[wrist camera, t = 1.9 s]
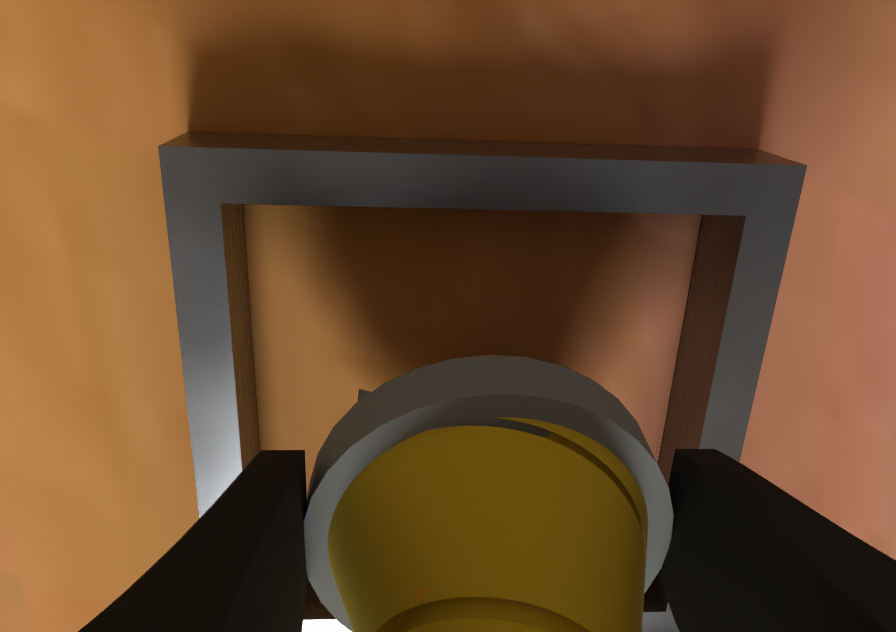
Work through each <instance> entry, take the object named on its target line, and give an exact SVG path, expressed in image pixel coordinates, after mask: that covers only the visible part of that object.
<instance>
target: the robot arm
mask: <svg viewBox="0 0 896 632" xmlns="http://www.w3.org/2000/svg"><path fill="white" fill-rule="evenodd" d="M668 487H669V491H670V497H671V503H672V509H673V515H674V516H673V526H672V536H671V541H670V545H669V548H668V551H667V554H666V557H665V559H664V562H663V565H662V567H661V569H660V571H659V575H660V578H661V582H662V585H663V588H664V591H665V594H666V597H667V600H668V603H669V606H670V609H671V612H672V615H673V617H674V620H675V623H676V625H677V627H678V630H679V632H896V560H894V559H892V558H891V557H889V556H887V555H885V554H884V553H882V552H880V551H879V550H877V549H875V548H874V547H872V546H870V545H869V544H867V543H865V542H864V541H862V540H860V539H859V538H857V537H855V536H854V535H852V534H851V533H849V532H847V531H846V530H844V529H843V528H841V527H839V526H838V525H836V524H835V523H833V522H831V521H830V520H828V519H827V518H825V517H824V516H822V515H820V514H819V513H817V512H816V511H814V510H813V509H811V508H809V507H808V506H806V505H805V504H803V503H802V502H800V501H799V500H797V499H796V498H794V497H792V496H791V495H789V494H788V493H786V492H785V491H783V490H782V489H780V488H779V487H777V486H776V485H774V484H772V483H771V482H769V481H768V480H766V479H765V478H763V477H762V476H760V475H758V474H757V473H755V472H754V471H752V470H751V469H749V468H747V467H746V466H744V465H743V464H741V463H739V462H738V461H736V460H734V459H733V458H731V457H729V456H727V455H726V454H724V453H722V452H720V451H718V450H716V449H675V452H674V458H673V463H672V468H671V474H670V479H669V484H668ZM306 504H307V496H306V472H305V450H261V451H260V452H259V453H258V454H257V455H256V456H255V457H254V458H253V459H252V460H251V461H250V462H249V463H248V465H247V466H246V467H245V468H244V469H243V470H242V472H241V473H240V474H239V475H238V476H237V477H236V479H235V480H234V481H233V482H232V483H231V484H230V486H229V487H228V488H227V489H226V490H225V491H224V492H223V493H222V495H221V496H220V497H219V498H218V499H217V500H216V501H215V502H214V504H213V505H212V506H211V507H210V508H209V509H208V510H207V511H206V512H205V513H204V514H203V515H202V516H201V517H200V519H199V520H198V521H197V522H196V523H195V524H194V525H193V526H192V527H191V528H190V529H189V530H188V531H187V532H186V533H185V534H184V535H183V536H182V538H181V539H180V540H179V541H178V542H177V543H176V544H175V545H174V546H173V547H172V548H171V549H170V550H169V551H168V552H167V553H166V554H164V555H163V556H162V557H161V558H160V559H159V560H158V561H157V562H156V563H155V564H154V565H153V566H152V567H151V568H150V569H149V570H148V571H147V572H145V573H144V574H143V575H142V576H141V577H140V578H139V579H138V580H137V581H136V582H135V583H134V584H133V585H132V586H131V587H130V588H129V589H127V590H126V591H125V592H124V593H123V594H122V595H121V596H120V597H118V598H117V599H116V600H115V601H114V602H113V603H112V604H110V605H109V606H108V607H107V608H106V609H105V610H104V611H102V612H101V613H100V614H99V615H98V616H96V617H95V618H94V619H93V620H92V621H90V622H89V623H88V624H87V625H85V626H84V627H83V628H82V629H80V630H79V631H78V632H302V626H303V617H304V609H305V601H306V591H307V582H308V576H307V569H306V554H305V539H304V524H303V523H304V517H305V511H306Z"/></svg>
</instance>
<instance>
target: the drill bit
mask: <svg viewBox="0 0 896 632" xmlns="http://www.w3.org/2000/svg"><path fill="white" fill-rule="evenodd" d="M673 516H674V515H673V509H672V503H671V497H670V491H669V487H668V485H667V483H666V481H665V479H664V477H663V475H662V473H661V471H660V469H659V466H658V464H657V462H656V460H655V458H654V456H653V454H652V452H651V450H650V448H649V446H648V444H647V442H646V440H645V438H644V435H643V433H642V431H641V429H640V427H639V425H638V423H637V421H636V420H635V419H634V417H633V416H632V415H631V414H630V413H629V411H628V410H627V409H626V408H625V407H624V405H623V404H622V403H621V402H620V401H619V399H618V398H616V397H615V396H614V395H612V394H611V393H610V392H608V391H607V390H606V389H604V388H603V387H602V386H600V385H599V384H598V383H596V382H595V381H594V380H592V379H590V378H587V377H585V376H583V375H581V374H579V373H577V372H575V371H573V370H570V369H568V368H566V367H564V366H561V365H557V364H553V363H549V362H545V361H541V360H537V359H533V358H529V357H518V356H504V355H482V356H471V357H461V358H452V359H449V360H445V361H441V362H438V363H434V364H430V365H427V366H423V367H419V368H416V369H414V370H412V371H410V372H407V373H405V374H403V375H401V376H399V377H397V378H395V379H393V380H390V381H388V382H386V383H384V384H382V385H381V386H380V387H378V388H377V389H375V390H374V391H373V392H370V391H365V390H361V389H359V394H358V402H357V403H356V404H355V405H354V406H353V407H352V408H351V409H350V410H349V411H348V412H347V413H346V414H345V415H344V417H343V418H342V419H341V420H340V421H339V422H338V423H337V424H336V425H335V426H334V427H333V429H332V431H331V432H330V434H329V436H328V437H327V439H326V441H325V442H324V444H323V446H322V448H321V449H320V451H319V453H318V456H317V459H316V462H315V466H314V469H313V472H312V476H311V479H310V485H309V491H308V497H307V504H306V511H305V517H304V523H303V524H304V539H305V554H306V569H307V576H308V579H309V581H310V583H311V585H312V587H313V589H314V590H315V592H316V594H317V596H318V598H319V599H320V601H321V603H322V604H323V605H324V606H325V607H326V608H327V609H328V611H329V612H330V613H331V614H332V615H333V616H334V617H335V618H336V619H337V621H338V622H339V623H341V624H342V625H343V626H345V627H346V628H347V629H349V630H350V631H352V632H642V621H643V604H644V593H645V592H646V591H647V589H648V588H649V586H650V585H651V583H652V582H653V580H654V578H655V577H656V575H657V574H658V572H659V571H660V569H661V567H662V565H663V562H664V559H665V557H666V554H667V551H668V548H669V545H670V541H671V536H672V526H673Z"/></svg>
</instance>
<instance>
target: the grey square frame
mask: <svg viewBox="0 0 896 632" xmlns="http://www.w3.org/2000/svg"><path fill="white" fill-rule="evenodd" d="M158 149H159V158H160V167H161V176H162V185H163V194H164V203H165V212H166V221H167V230H168V239H169V248H170V257H171V266H172V275H173V284H174V293H175V302H176V311H177V320H178V329H179V338H180V347H181V356H182V365H183V374H184V383H185V392H186V401H187V410H188V419H189V428H190V437H191V446H192V455H193V464H194V473H195V482H196V491H197V500H198V509H199V518H200V517H201V516H202V515H203V514H204V513H205V512H206V511H207V510H208V509H209V508H210V507H211V506H212V505H213V504H214V502H215V501H216V500H217V499H218V498H219V497H220V496H221V495H222V493H223V492H224V491H225V490H226V489H227V488H228V487H229V486H230V484H231V483H232V482H233V481H234V480H235V479H236V477H237V476H238V475H239V474H240V473H241V472H242V470H243V469H244V468H245V467H246V466H247V465H248V463H249V462H250V461H251V460H252V459H253V458H254V457H255V456H256V455H257V454H258V453H259V452H260V447H259V433H258V418H257V404H256V389H255V375H254V361H253V346H252V332H251V317H250V303H249V288H248V274H247V259H246V245H245V231H244V216H243V204H273V205H315V206H357V207H400V208H442V209H484V210H527V211H569V212H611V213H653V214H696V215H703V218H702V224H701V230H700V235H699V241H698V246H697V252H696V258H695V263H694V269H693V274H692V280H691V285H690V291H689V297H688V302H687V308H686V313H685V319H684V325H683V330H682V336H681V341H680V347H679V353H678V358H677V364H676V369H675V375H674V381H673V386H672V392H671V397H670V403H669V409H668V414H667V420H666V425H665V431H664V437H663V442H662V448H661V453H660V459H659V465H658V466H659V469H660V471H661V473H662V475H663V477H664V479H665V481H666V483H667V485H668V484H669V479H670V474H671V468H672V463H673V458H674V452H675V449H716V450H718V451H720V452H722V453H724V454H726V455H727V456H729V457H731V458H733V459H734V460H736V461H738V462H739V461H740V456H741V452H742V448H743V443H744V439H745V434H746V430H747V426H748V421H749V417H750V413H751V408H752V404H753V400H754V395H755V391H756V386H757V382H758V378H759V373H760V369H761V365H762V360H763V356H764V351H765V347H766V343H767V338H768V334H769V330H770V325H771V321H772V316H773V312H774V308H775V303H776V299H777V295H778V290H779V286H780V281H781V277H782V273H783V268H784V264H785V260H786V255H787V251H788V246H789V242H790V238H791V233H792V229H793V225H794V220H795V216H796V211H797V207H798V203H799V198H800V194H801V190H802V185H803V181H804V177H805V172H806V168H807V165H804V164H801V163H798V162H795V161H792V160H789V159H786V158H783V157H780V156H777V155H774V154H771V153H768V152H765V151H762V150H747V149H715V148H683V147H651V146H619V145H587V144H555V143H523V142H492V141H460V140H428V139H396V138H364V137H332V136H300V135H268V134H236V133H205V132H186V133H184V134H182V135H180V136H178V137H176V138H174V139H172V140H170V141H168V142H166V143H164V144H162V145H159V146H158ZM302 632H352V631H350V630H349V629H347V628H346V627H345V626H343V625H342V624H341V623H339V622H338V621H337V619H336V618H335V617H334V616H333V615H332V614H331V613H330V612H329V611H328V609H327V608H326V607H325V606H324V605H323V604H322V603H321V601H320V599H319V598H318V596H317V594H316V592H315V590H314V589H313V587H312V585H311V583H310V581H309V579H308V582H307V591H306V601H305V609H304V617H303V626H302ZM642 632H679V630H678V627H677V625H676V623H675V620H674V617H673V615H672V612H671V609H670V606H669V603H668V600H667V597H666V594H665V591H664V588H663V585H662V582H661V578H660V575H659V572H658V574H657V575H656V577H655V578H654V580H653V582H652V583H651V585H650V586H649V588H648V589H647V591H646V592H645V593H644V604H643V621H642Z"/></svg>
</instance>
